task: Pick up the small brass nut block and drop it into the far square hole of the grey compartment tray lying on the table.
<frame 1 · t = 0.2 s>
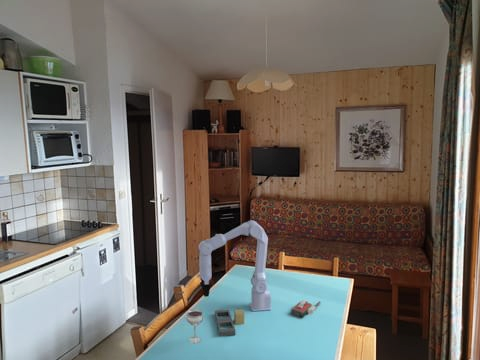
hand: (205, 292, 183), 10 cm above the table, fingers open, 7 cm apart
grey compartment tray: (224, 324, 172), on the table
nut block: (239, 322, 174), on the table
wineglass: (195, 340, 159), on the table
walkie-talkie: (306, 310, 187), on the table
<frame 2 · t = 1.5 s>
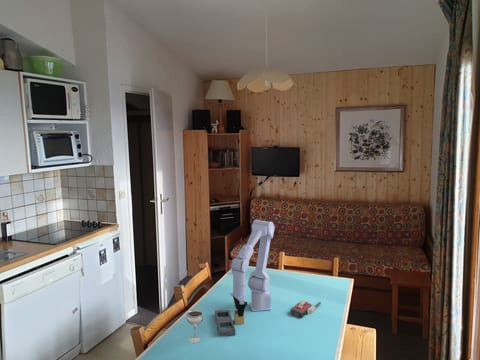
hand: (239, 312, 174), 5 cm above the table, fingers open, 7 cm apart
nothing on the table moved.
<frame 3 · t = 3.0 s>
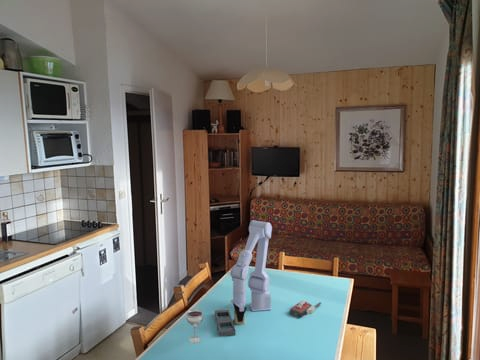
hand: (239, 319, 174), 1 cm above the table, fingers closed on nut block, 4 cm apart
nut block: (239, 321, 174), on the table, touching gripper
everything else where it was.
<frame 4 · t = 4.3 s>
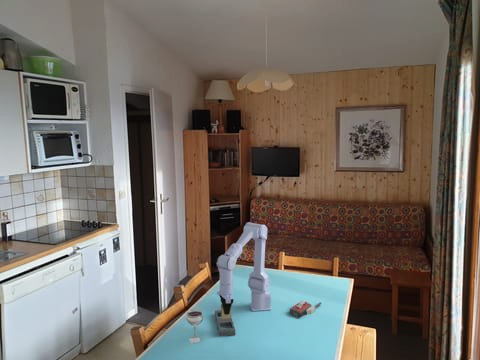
hand: (226, 311, 166), 8 cm above the table, fingers closed on nut block, 4 cm apart
nut block: (226, 316, 167), point 6 cm above the table, touching gripper
everything else where it was.
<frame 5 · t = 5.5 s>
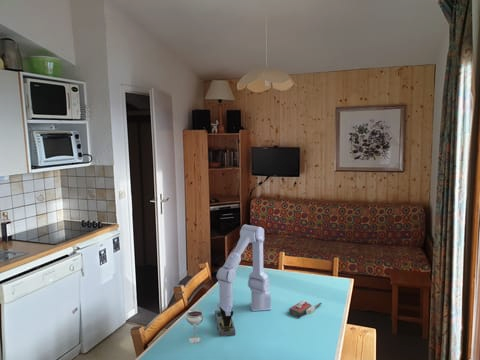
hand: (226, 323, 167), 3 cm above the table, fingers closed on nut block, 4 cm apart
nut block: (225, 328, 167), point 1 cm above the table, touching gripper
everything else where it was.
when the fingers open (3 cm above the table, at t = 6.1 s): nut block stays where it is, resting in grey compartment tray.
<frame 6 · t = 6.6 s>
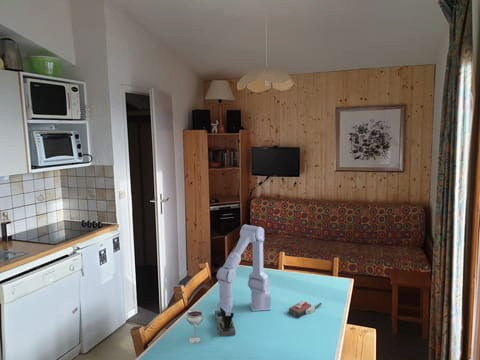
hand: (225, 323, 167), 3 cm above the table, fingers open, 7 cm apart
nut block: (225, 330, 167), resting in grey compartment tray
everything else where it was.
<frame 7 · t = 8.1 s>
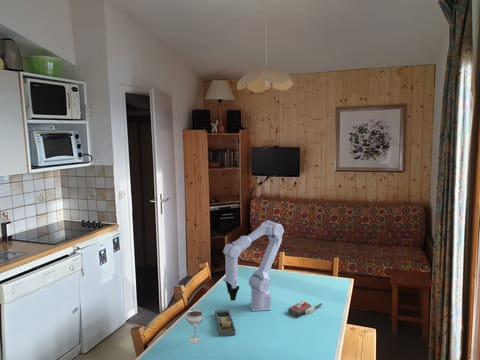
hand: (231, 296, 180), 9 cm above the table, fingers open, 7 cm apart
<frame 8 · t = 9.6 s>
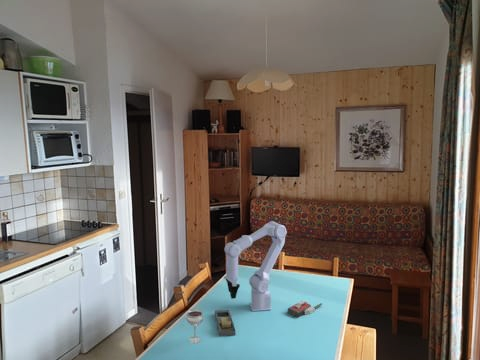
hand: (232, 294, 182), 9 cm above the table, fingers open, 7 cm apart
nothing on the table moved.
at the end: nut block 0.0 cm from the target spot on the grey compartment tray, point 0.0 cm above the grey compartment tray's base; nut block tilted 0° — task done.
